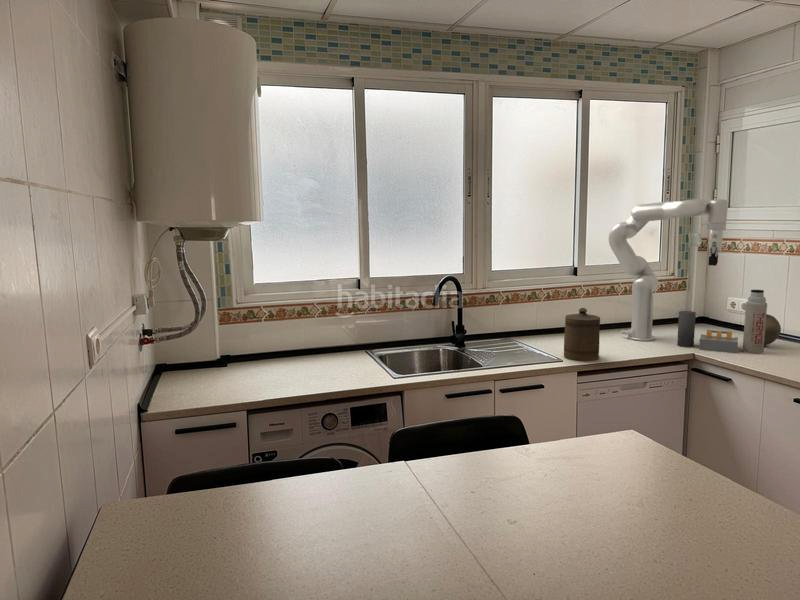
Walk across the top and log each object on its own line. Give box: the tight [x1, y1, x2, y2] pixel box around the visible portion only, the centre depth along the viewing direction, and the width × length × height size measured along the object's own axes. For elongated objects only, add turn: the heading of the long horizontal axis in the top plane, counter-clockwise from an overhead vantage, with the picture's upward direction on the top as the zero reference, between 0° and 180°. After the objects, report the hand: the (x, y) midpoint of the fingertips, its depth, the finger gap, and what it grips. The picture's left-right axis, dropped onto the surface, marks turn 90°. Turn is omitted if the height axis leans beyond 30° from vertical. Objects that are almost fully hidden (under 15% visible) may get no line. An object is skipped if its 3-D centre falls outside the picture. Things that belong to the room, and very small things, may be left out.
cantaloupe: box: [764, 313, 782, 347], centre depth 262 cm, size 14×14×15 cm
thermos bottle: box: [742, 289, 768, 355], centre depth 251 cm, size 8×8×28 cm
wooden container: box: [563, 307, 601, 362], centre depth 248 cm, size 15×15×22 cm
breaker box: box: [698, 333, 739, 354], centre depth 259 cm, size 15×12×5 cm
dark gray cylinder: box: [676, 310, 697, 348], centre depth 265 cm, size 7×7×16 cm
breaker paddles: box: [706, 329, 733, 339], centre depth 258 cm, size 10×2×3 cm, turn 59°
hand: (712, 264), depth 259 cm, fingers open, 9 cm apart
